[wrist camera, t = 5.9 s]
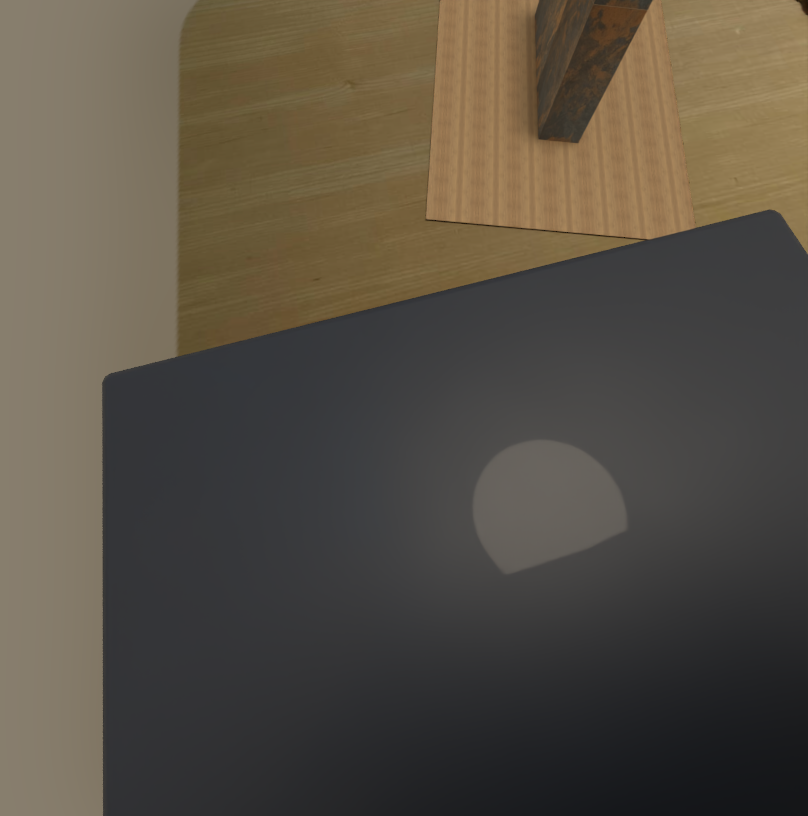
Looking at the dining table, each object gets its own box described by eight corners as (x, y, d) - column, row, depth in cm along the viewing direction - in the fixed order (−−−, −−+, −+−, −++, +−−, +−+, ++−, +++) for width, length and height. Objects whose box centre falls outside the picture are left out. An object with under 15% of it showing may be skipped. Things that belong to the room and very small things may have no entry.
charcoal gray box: (545, 618, 15) (1705, 1567, 1) (401, 655, 15) (90, 1994, 1) (470, 379, 18) (592, -77, 4) (351, 409, 18) (98, 45, 4)
